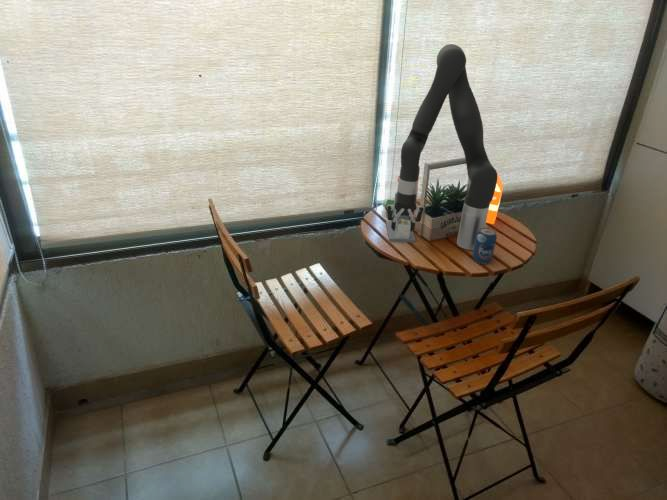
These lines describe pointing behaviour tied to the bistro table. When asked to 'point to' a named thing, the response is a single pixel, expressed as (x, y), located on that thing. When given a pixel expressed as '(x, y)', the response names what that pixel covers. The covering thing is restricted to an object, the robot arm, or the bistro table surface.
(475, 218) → the robot arm
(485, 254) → the soda can
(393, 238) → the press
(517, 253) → the bistro table surface
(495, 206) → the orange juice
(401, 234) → the block
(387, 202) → the clamp
